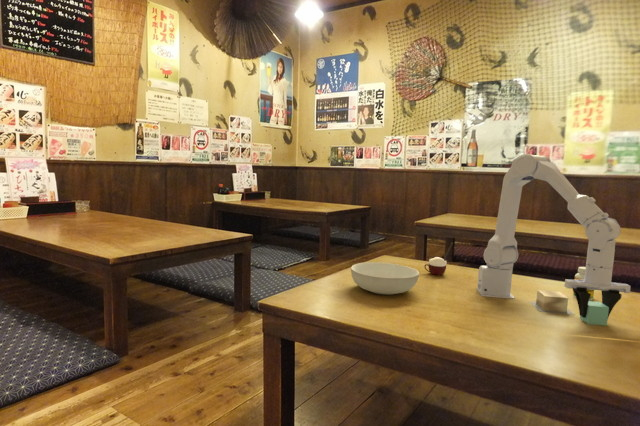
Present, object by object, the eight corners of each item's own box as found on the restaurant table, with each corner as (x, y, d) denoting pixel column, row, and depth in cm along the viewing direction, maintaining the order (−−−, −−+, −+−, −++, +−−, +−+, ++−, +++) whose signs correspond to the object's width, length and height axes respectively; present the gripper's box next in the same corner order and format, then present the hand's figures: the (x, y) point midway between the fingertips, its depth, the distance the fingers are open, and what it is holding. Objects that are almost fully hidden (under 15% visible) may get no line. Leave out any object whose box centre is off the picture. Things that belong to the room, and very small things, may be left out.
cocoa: (423, 274, 153) (423, 242, 152) (428, 271, 158) (428, 239, 157) (449, 278, 148) (449, 244, 147) (453, 274, 153) (454, 241, 152)
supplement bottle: (577, 294, 133) (581, 265, 132) (596, 299, 129) (599, 269, 128) (569, 297, 130) (572, 267, 129) (588, 302, 126) (591, 270, 125)
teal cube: (587, 324, 106) (589, 305, 106) (579, 318, 111) (581, 300, 110) (606, 326, 106) (608, 307, 105) (598, 320, 110) (600, 301, 109)
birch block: (543, 310, 116) (544, 296, 115) (536, 303, 121) (537, 290, 121) (566, 312, 115) (568, 298, 114) (558, 305, 120) (559, 291, 120)
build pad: (539, 312, 114) (539, 311, 114) (528, 302, 123) (528, 301, 123) (574, 315, 113) (575, 314, 113) (561, 305, 122) (561, 304, 122)
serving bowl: (431, 298, 124) (433, 275, 123) (369, 304, 116) (370, 280, 116) (394, 279, 143) (395, 260, 143) (339, 283, 136) (339, 263, 135)
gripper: (575, 267, 104) (569, 319, 105) (639, 271, 101) (633, 325, 103) (563, 261, 111) (558, 310, 112) (624, 265, 108) (618, 315, 110)
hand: (593, 317), depth 108 cm, fingers closed on teal cube, 4 cm apart
